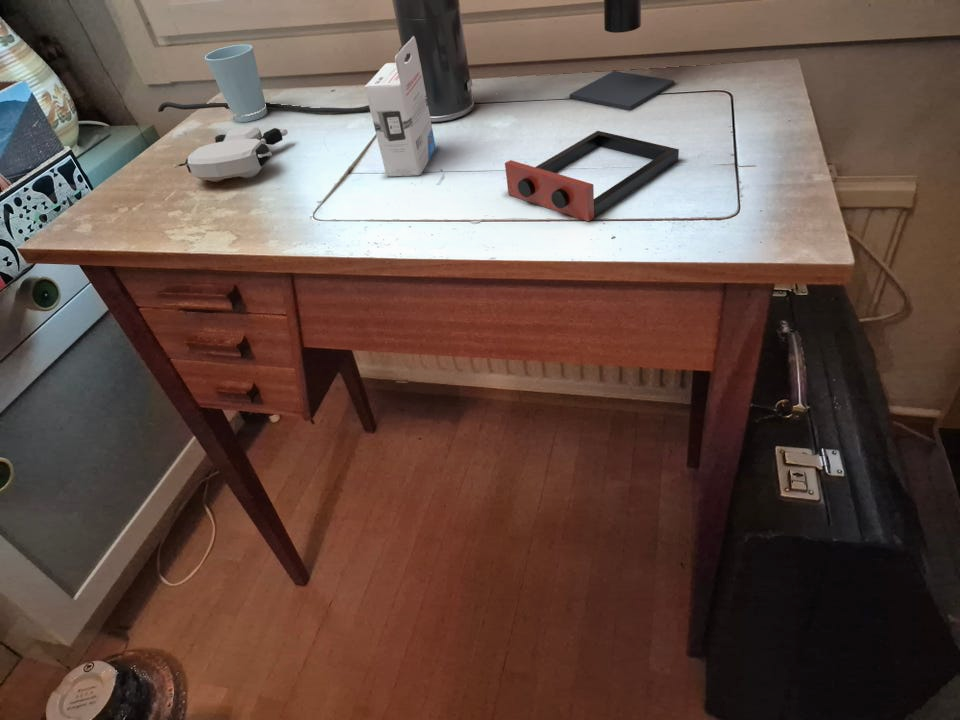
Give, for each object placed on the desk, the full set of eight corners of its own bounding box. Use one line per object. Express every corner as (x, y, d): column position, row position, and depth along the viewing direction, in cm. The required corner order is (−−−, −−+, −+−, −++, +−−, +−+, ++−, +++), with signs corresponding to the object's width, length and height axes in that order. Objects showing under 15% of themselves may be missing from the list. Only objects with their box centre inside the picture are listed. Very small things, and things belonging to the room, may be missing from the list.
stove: (503, 197, 77) (499, 165, 75) (597, 141, 86) (597, 111, 83) (583, 225, 70) (582, 191, 68) (678, 161, 78) (680, 128, 76)
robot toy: (221, 156, 102) (182, 194, 90) (211, 126, 99) (168, 162, 87) (297, 147, 101) (267, 185, 89) (288, 117, 98) (256, 151, 86)
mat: (569, 98, 99) (569, 94, 98) (614, 74, 104) (614, 70, 104) (630, 110, 92) (630, 106, 92) (674, 84, 97) (674, 80, 97)
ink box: (403, 149, 92) (379, 37, 83) (437, 148, 91) (416, 34, 82) (385, 177, 86) (356, 59, 77) (420, 176, 85) (395, 56, 75)
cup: (269, 120, 109) (246, 54, 102) (224, 127, 110) (198, 62, 103) (277, 105, 115) (256, 41, 108) (234, 111, 115) (211, 48, 109)
